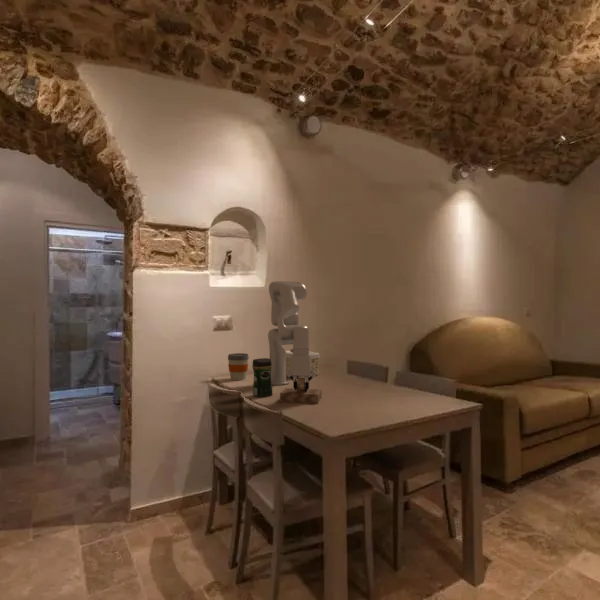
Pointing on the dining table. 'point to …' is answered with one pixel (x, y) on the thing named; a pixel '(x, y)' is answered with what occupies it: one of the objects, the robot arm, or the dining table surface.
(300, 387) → the peg
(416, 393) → the dining table surface
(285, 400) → the board
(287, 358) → the storage basket
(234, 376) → the reusable coffee cup
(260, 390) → the coffee jar
